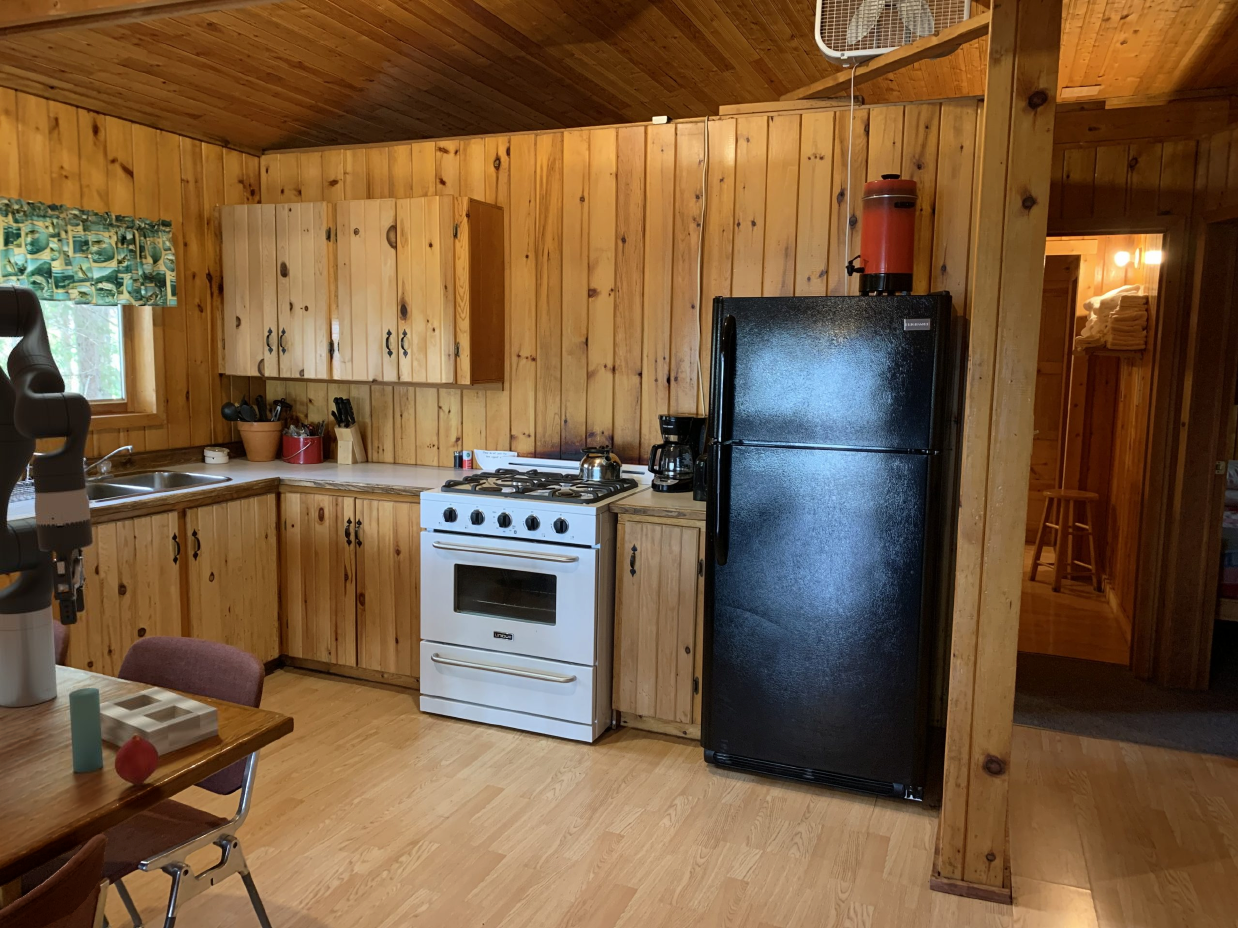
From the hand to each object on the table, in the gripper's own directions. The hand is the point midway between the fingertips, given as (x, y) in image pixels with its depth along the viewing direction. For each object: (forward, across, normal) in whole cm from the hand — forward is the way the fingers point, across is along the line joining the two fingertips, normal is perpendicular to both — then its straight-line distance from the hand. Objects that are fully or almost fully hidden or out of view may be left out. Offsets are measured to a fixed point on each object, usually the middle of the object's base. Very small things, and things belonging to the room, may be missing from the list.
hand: (73, 617), depth 152 cm
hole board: (+22, -1, +10) cm, 24 cm away
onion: (+22, +19, +9) cm, 31 cm away
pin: (+22, +9, +1) cm, 24 cm away
